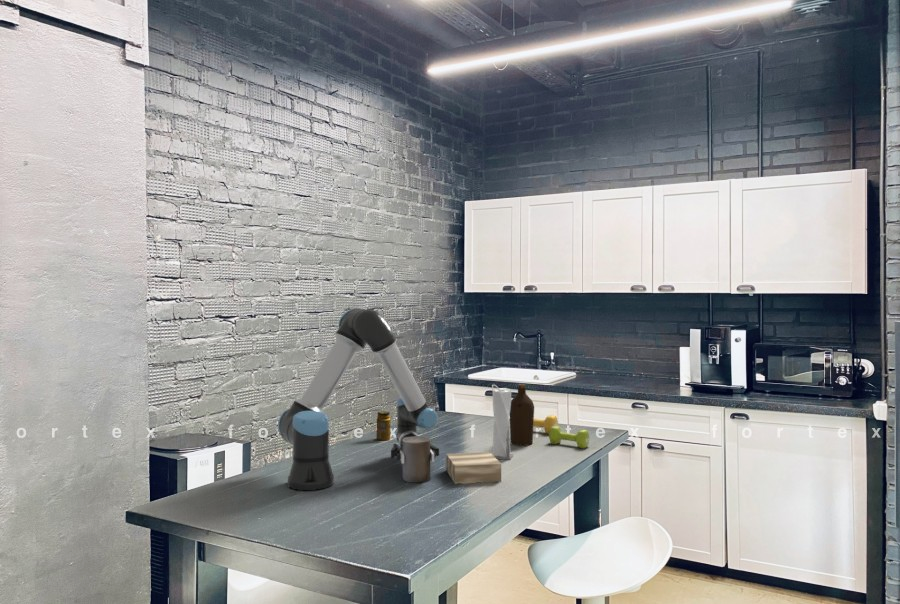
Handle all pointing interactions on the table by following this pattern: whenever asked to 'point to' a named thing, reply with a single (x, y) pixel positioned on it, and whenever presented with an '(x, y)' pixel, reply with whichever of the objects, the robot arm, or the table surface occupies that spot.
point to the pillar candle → (416, 459)
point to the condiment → (383, 427)
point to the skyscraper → (501, 423)
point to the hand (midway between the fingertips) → (418, 458)
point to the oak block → (473, 467)
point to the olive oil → (521, 418)
